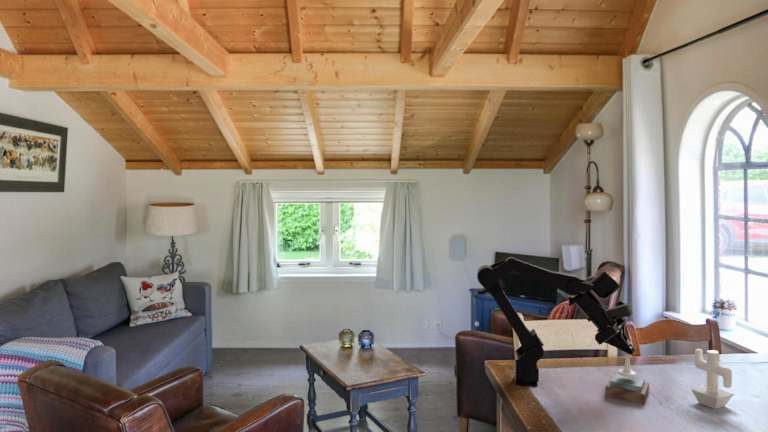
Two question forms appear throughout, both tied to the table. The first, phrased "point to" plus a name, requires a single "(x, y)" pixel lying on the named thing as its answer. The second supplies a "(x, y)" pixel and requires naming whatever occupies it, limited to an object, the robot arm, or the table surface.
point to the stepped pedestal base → (627, 388)
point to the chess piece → (627, 366)
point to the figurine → (712, 380)
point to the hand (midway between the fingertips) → (632, 352)
